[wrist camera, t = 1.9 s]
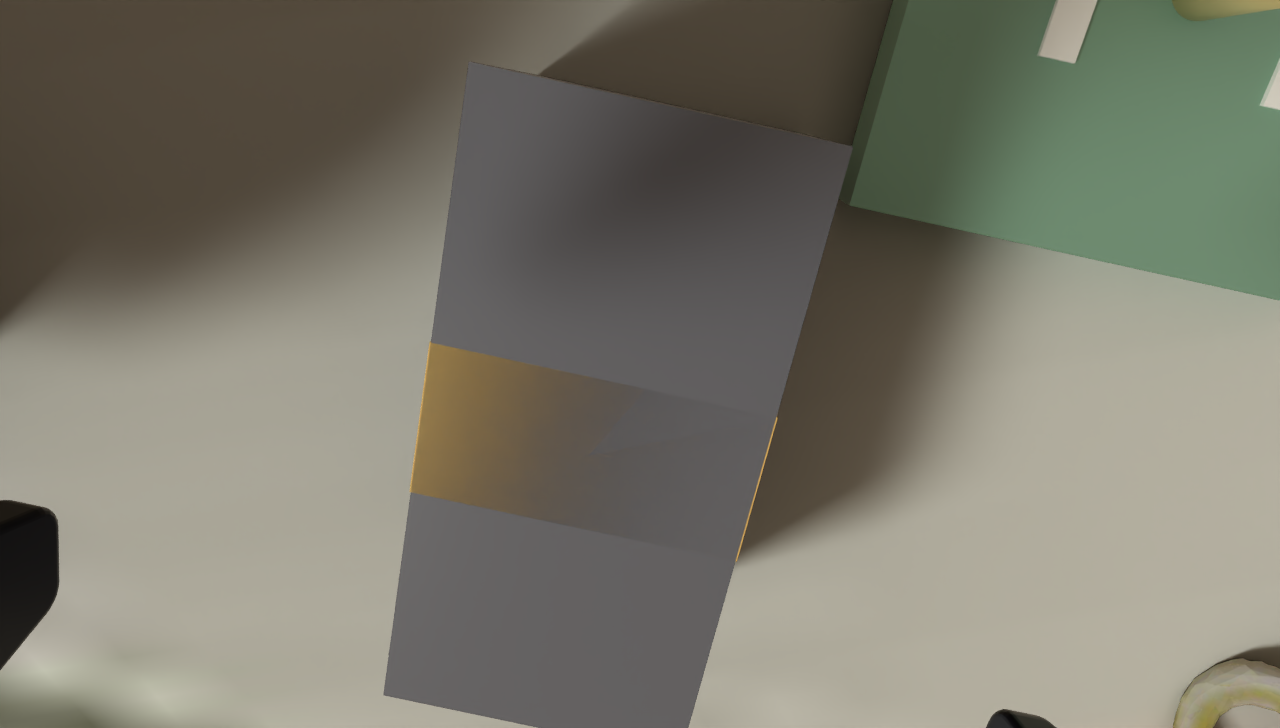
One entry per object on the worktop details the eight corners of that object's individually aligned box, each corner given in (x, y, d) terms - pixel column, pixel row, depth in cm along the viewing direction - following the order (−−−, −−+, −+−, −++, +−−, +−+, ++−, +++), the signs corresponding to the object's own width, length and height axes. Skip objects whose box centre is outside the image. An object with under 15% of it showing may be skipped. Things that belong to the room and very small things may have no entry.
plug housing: (461, 539, 18) (382, 694, 13) (535, 74, 15) (467, 60, 10) (681, 586, 18) (681, 757, 13) (800, 133, 15) (853, 146, 10)
